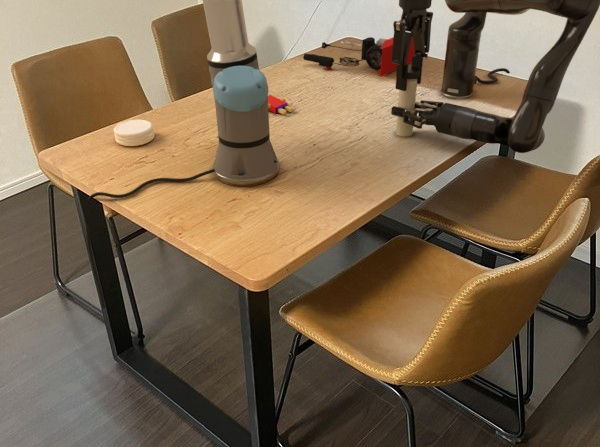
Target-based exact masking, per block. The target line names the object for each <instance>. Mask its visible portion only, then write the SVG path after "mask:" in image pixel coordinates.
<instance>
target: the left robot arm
mask: <svg viewBox="0 0 600 447" xmlns="http://www.w3.org/2000/svg"><path fill="white" fill-rule="evenodd" d="M432 2H433V1H432V0H398V6H399V8H401V9H402V13H401V16H400V19H399V20H395V21H393V25H392V26H393V37H394V38H393V37H392V38H393V48H392V58H391V62H392V63H395V64H397V69H395V70H396V71H395V72H396V73H395V78H396V79H395V89H396V90H402V91H406V88H407V76H408V66H409V63H408V64H406V63H407V58H408V54H409V50H410V46H411V41H412V37H413V44H414V54H415V55H416V56H413V57H412V62H411V65H410V66H413V67H417V68H419V70H420V71H419V72H420V74H419V77H418V78H417V85H420V84H422V74H423V65H424V58H425V59H427V58H428V56H429V52H430V46H431V34H432V32H431V31H432V22H433V17H434V12H433V11H428V9H430V8H431V7H432ZM202 5H203V10H204V15H205V20H206V26H207V30H208V36H209V42H210V46H211V49H210V51H209V52H208V53H207V55H206V60H207V65H208V70H209V75H210V83H211V87H212V92H213V100H214V106H215V115H216V126H217V135H218V145H217V149H216V153H215V159H214V162H213V165H212V169H209V170H205V171H203V172H200V173H197V174H195V175H193V176H190V177H185V178H184V177H183V178H174V177H173V178H172V177H157V178H152V179H149V180H147V181H144V182H143V183H141V184H140V185H138V186H137V187H136V188H134V189H132V190H131V191H129V192H126V193H123V194H115V193H109V192H104V191H103V192H102V191H98V192H94V193H92V194H91V195H89V196H88V198H87V200H88V201H90V200H93V199H94V198H96V197H98V196H101V197H108V198H113V199H123V198H127V197H130V196H132V195H134V194H136V193H138V191H140V190H142V189H143V188H145V187H147V186H148V185H151V184H153V183H157V182H158V183H159V182H172V183H173V182H174V183H183V182H184V183H185V182H191V181H194V180H197V179H199V178H200V177H204V176H207V175H209V174H213V176H214V177H215V179H217V181H219V182H220V183H223V184H225V185H228V186H229V185H230V186H234V187H251V186H252V187H253V186H257V185H261V184H265V183H267V182H269V181H271V180H273V179H274V178H275V177H276V176H277V175H278V174H279V171H280V166H279V164H280V163H279V160H278V156H277V154H276V151H275V149H274V146H273V144H272V142H271V138H270V136H271V135H270V134H271V133H270V117H269V116H270V113H269V110H268V95H269V91H270V90H269V84H268V80H267V79H268V78H267V77H266V75H265V73H264V72H263V71H262V70H260V67H259V60H258V53H257V48H256V47H255V46H253V45H252V44H250V43H249V37H248V32H247V25H246V24H247V23H246V19H245V18H246V17H245V11H244V6H243V0H202ZM85 224H86V225H85V232H86V243H87V249H88V255H89V259H90V264H91V267H92V272H93V275H94V279H95V282H96V286H97V290H98V294H99V298H100V303H101V308H102V309H106V304H105V298H104V294H103V289H102V286H101V282H100V279H99V274H98V272H97V268H96V262H95V258H94V254H93V249H92V242H91V229H90V225H89V224H87V223H85Z"/></svg>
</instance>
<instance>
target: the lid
mask: <svg viewBox="0 0 600 447" xmlns="http://www.w3.org/2000/svg"><path fill="white" fill-rule="evenodd" d="M419 71H420V70H419V68H417V67H413V66H411V65H408V76H407V79H410V80H411V79H417V78H418V77H419V74H420V72H419Z"/></svg>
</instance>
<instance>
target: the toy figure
mask: <svg viewBox="0 0 600 447" xmlns="http://www.w3.org/2000/svg"><path fill="white" fill-rule="evenodd" d="M268 111H270V112H272V113H273V114H276V113H277V114H282V115H286V114H287V112H289V113H292V112H294V107H292V106H290V105H289V103H288V102H287V101H286V98H278V97H276V96H274V95H272V94H268Z"/></svg>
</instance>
